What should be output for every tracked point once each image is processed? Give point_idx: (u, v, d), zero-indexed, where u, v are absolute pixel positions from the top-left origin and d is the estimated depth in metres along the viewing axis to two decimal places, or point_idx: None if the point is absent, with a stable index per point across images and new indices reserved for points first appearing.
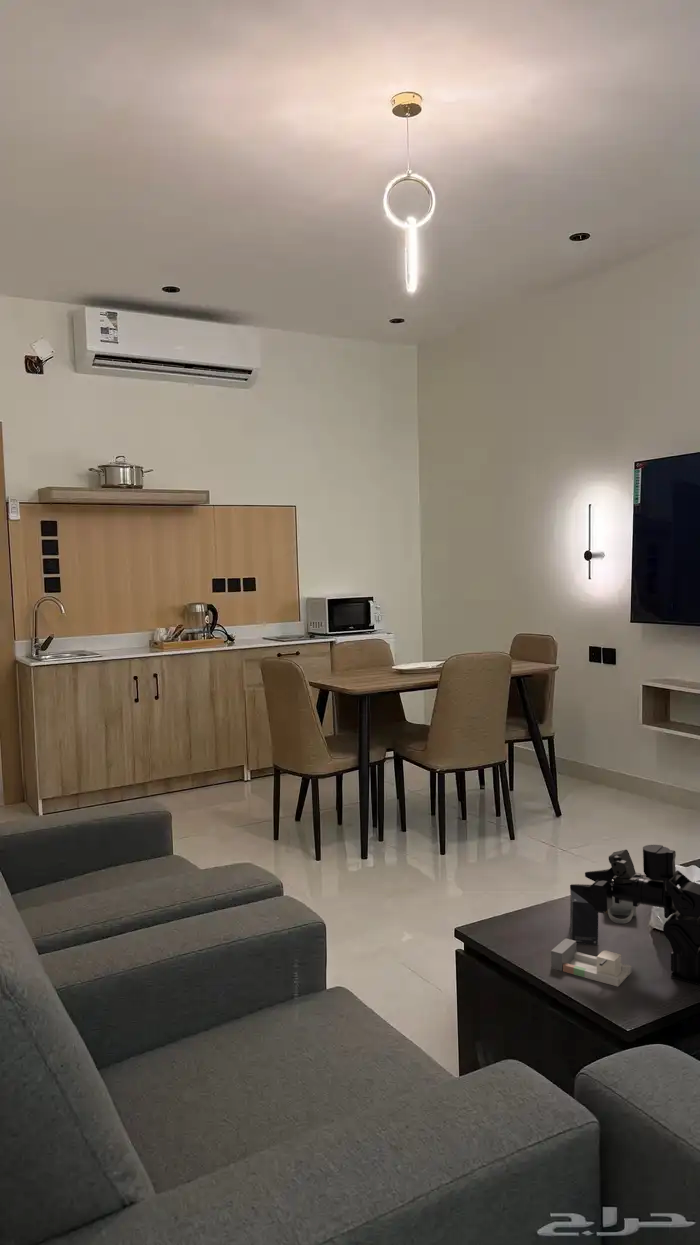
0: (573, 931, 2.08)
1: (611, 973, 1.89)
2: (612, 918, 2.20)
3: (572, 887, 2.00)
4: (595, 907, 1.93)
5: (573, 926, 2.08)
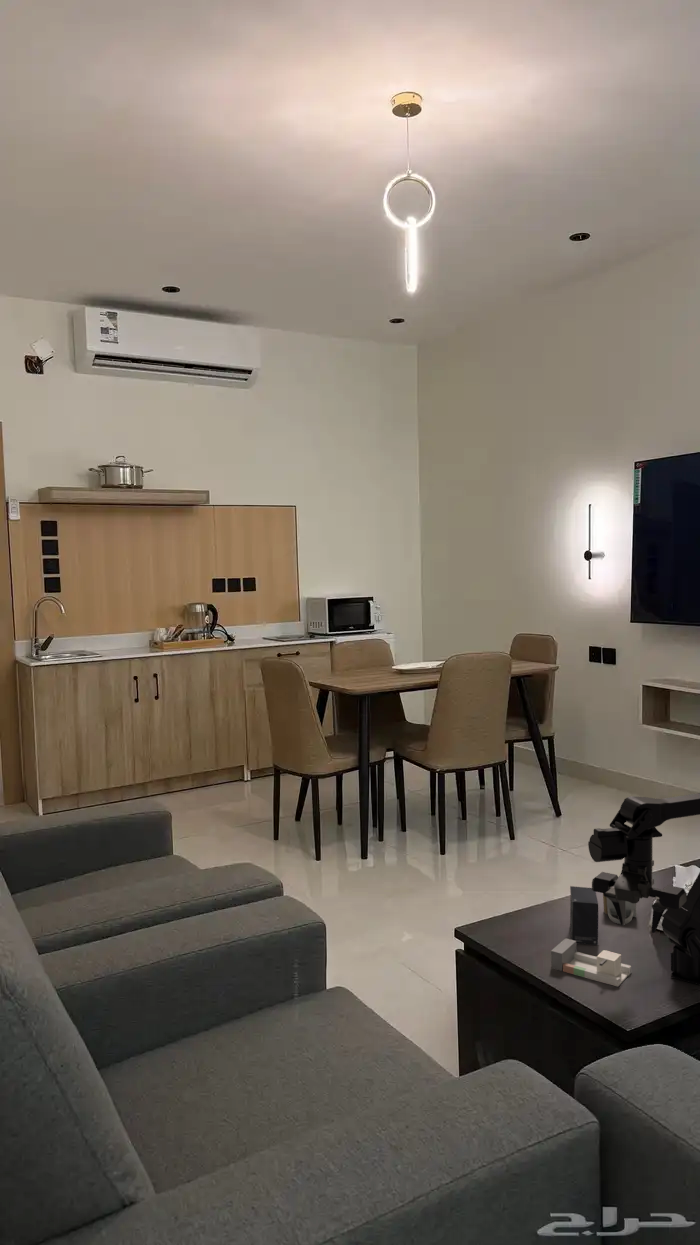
0: (573, 931, 2.08)
1: (611, 973, 1.89)
2: (612, 919, 2.20)
3: (654, 930, 1.85)
4: (685, 900, 1.83)
5: (573, 926, 2.08)
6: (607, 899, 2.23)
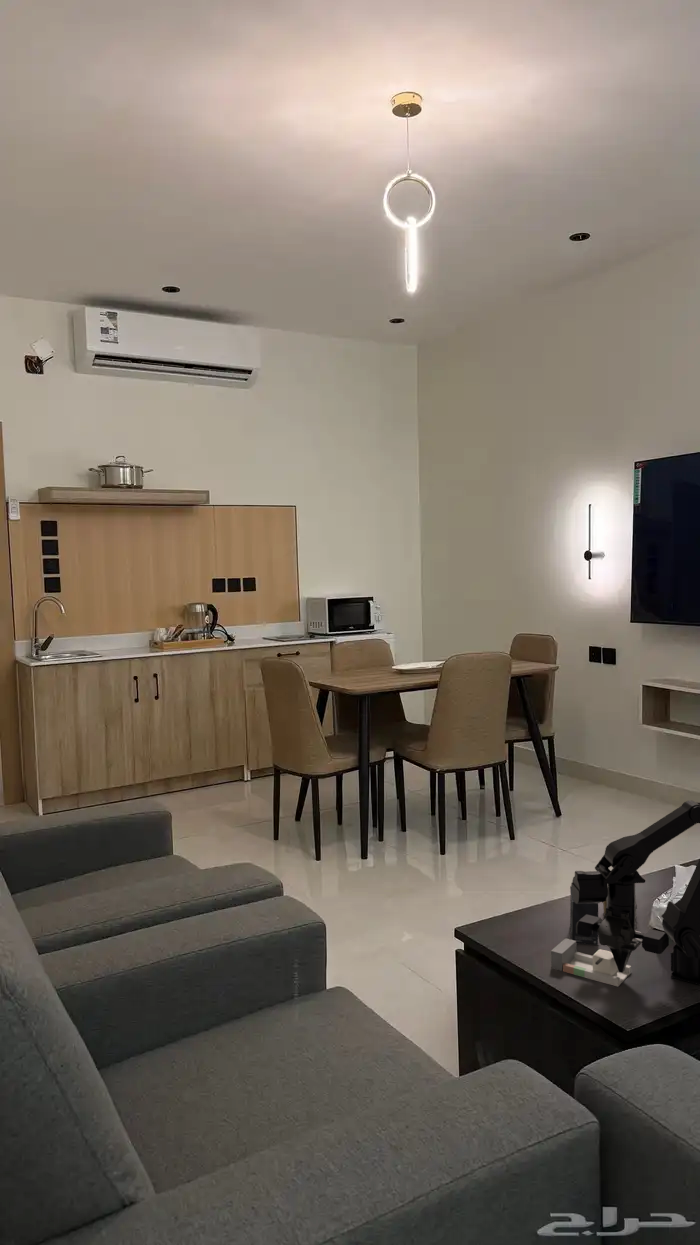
0: (573, 931, 2.08)
1: (607, 972, 1.90)
2: None
3: (622, 969, 1.90)
4: (667, 945, 1.85)
5: (573, 926, 2.08)
6: (607, 900, 2.22)
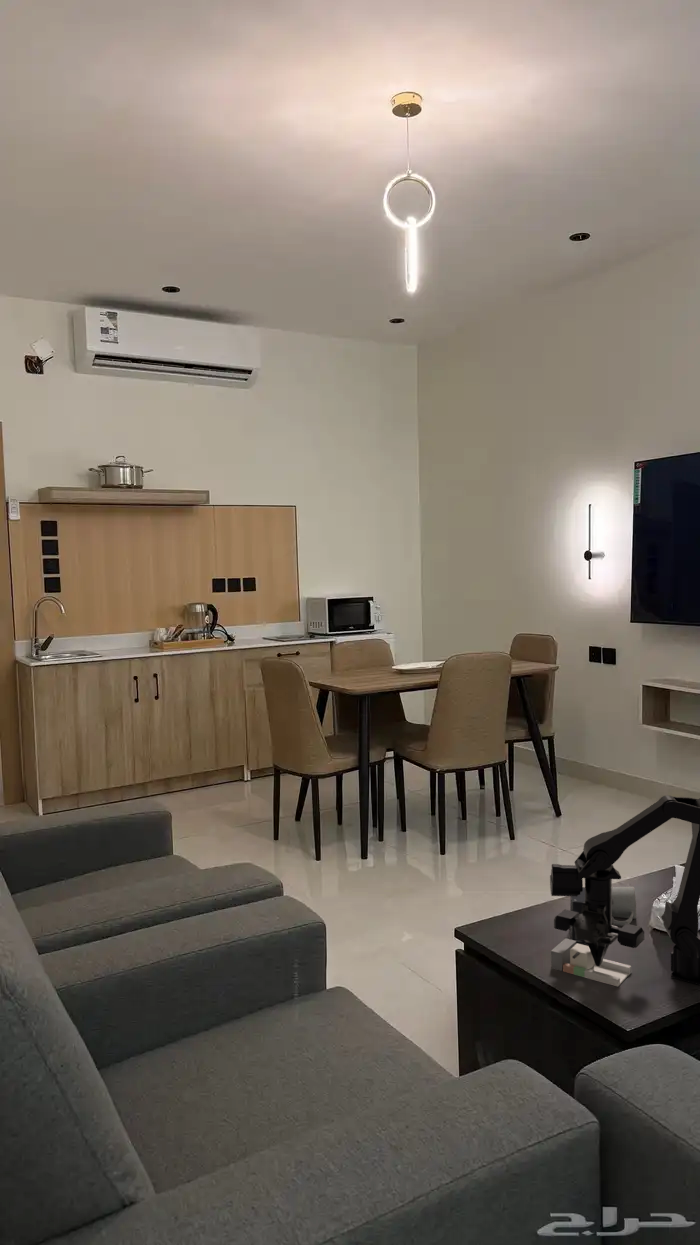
0: (573, 931, 2.08)
1: (584, 966, 1.93)
2: None
3: (599, 963, 1.93)
4: (643, 939, 1.89)
5: (573, 926, 2.08)
6: None
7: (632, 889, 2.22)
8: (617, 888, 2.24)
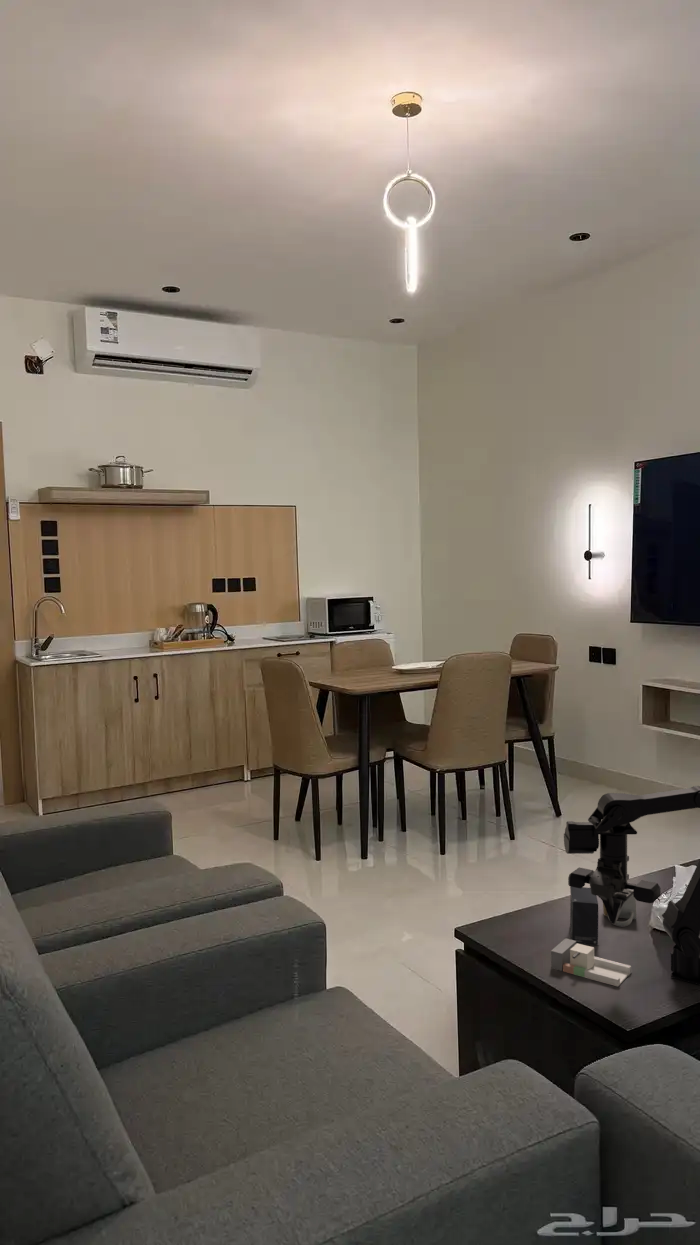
0: (573, 931, 2.08)
1: (584, 966, 1.93)
2: None
3: (615, 921, 1.90)
4: (659, 895, 1.86)
5: (573, 926, 2.08)
6: None
7: None
8: None
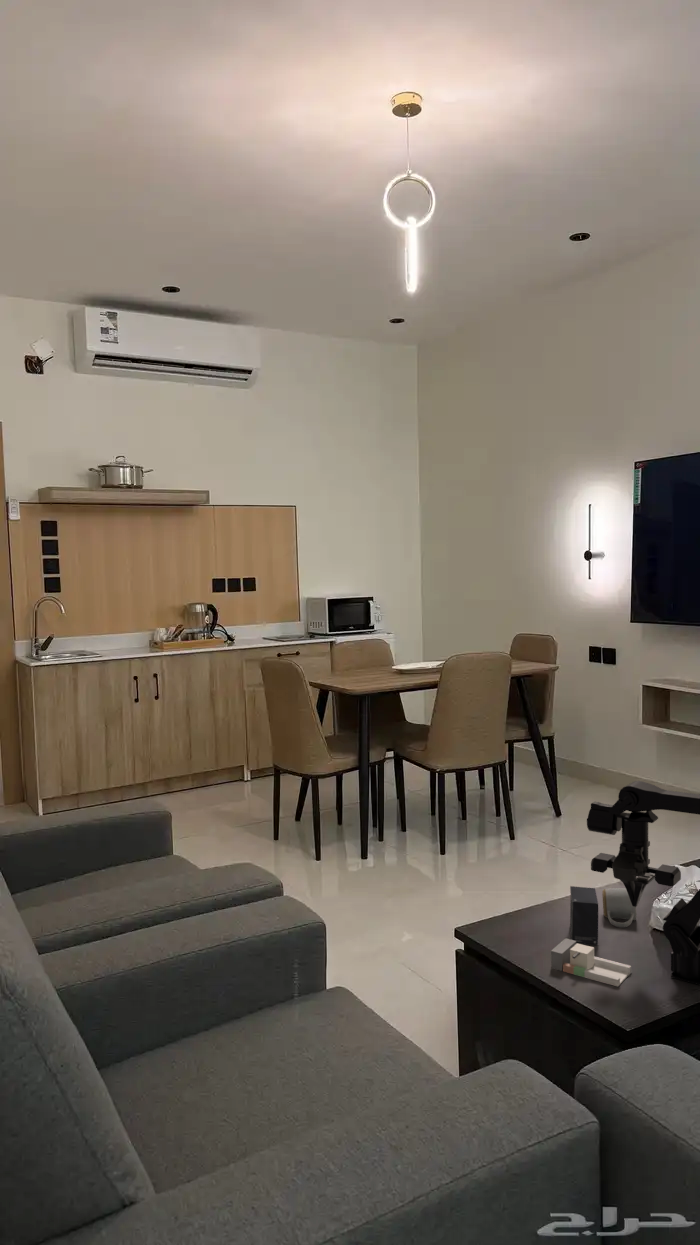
0: (573, 931, 2.08)
1: (584, 966, 1.93)
2: (612, 922, 2.18)
3: (636, 904, 1.97)
4: (679, 879, 1.92)
5: (573, 926, 2.08)
6: (607, 902, 2.21)
7: None
8: (617, 889, 2.23)
